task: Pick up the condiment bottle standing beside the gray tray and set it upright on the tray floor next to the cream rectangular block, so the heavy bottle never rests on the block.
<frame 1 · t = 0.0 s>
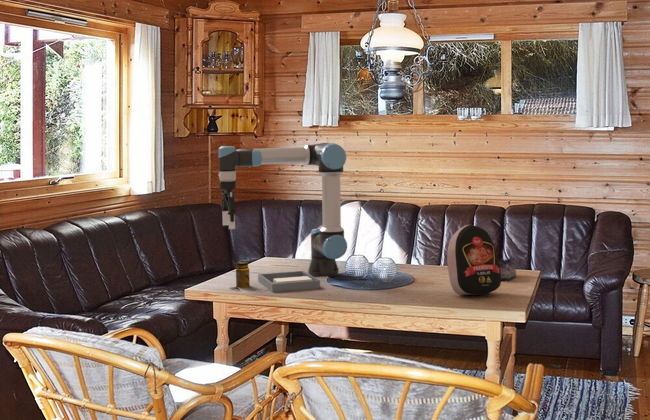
hand: (228, 227, 400), 28 cm above the table, fingers open, 13 cm apart
packaged food: (473, 294, 380), on the table
condiment: (241, 289, 401), on the table
geode: (503, 278, 417), on the table
cream rectangular block: (292, 287, 396), point 1 cm above the table, touching gray tray
gray tray: (288, 286, 402), on the table
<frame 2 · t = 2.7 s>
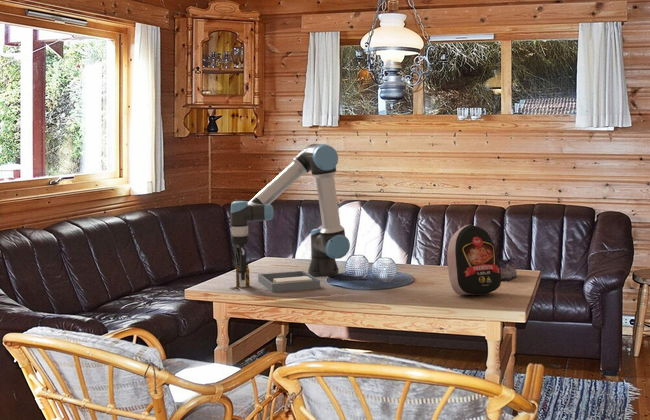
hand: (241, 285, 400), 1 cm above the table, fingers closed on condiment, 6 cm apart
condiment: (241, 289, 401), on the table, touching gripper
everything else where it was.
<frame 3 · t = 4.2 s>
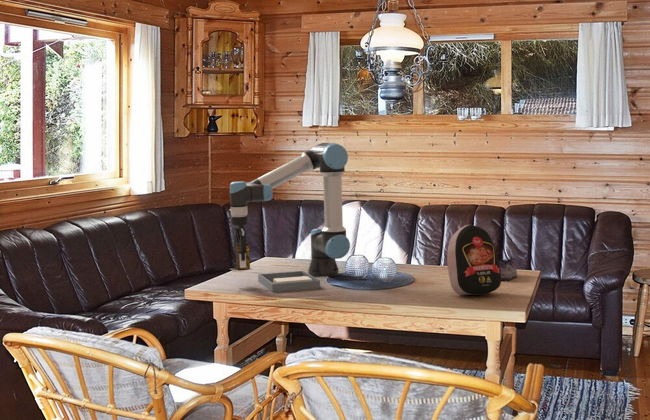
hand: (241, 266, 400), 10 cm above the table, fingers closed on condiment, 6 cm apart
condiment: (241, 269, 400), point 9 cm above the table, touching gripper
everything else where it was.
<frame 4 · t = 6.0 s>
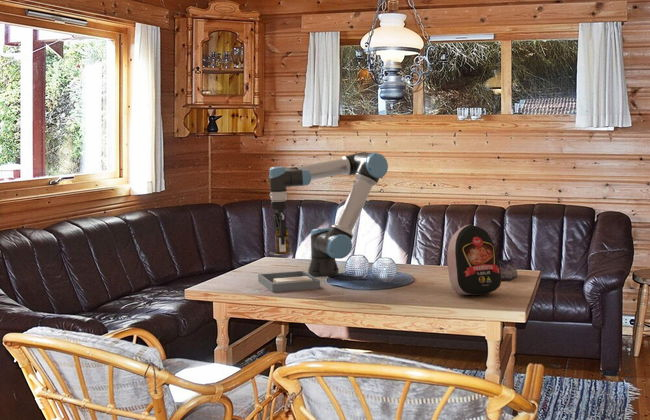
hand: (280, 250, 405), 16 cm above the table, fingers closed on condiment, 6 cm apart
condiment: (281, 253, 405), point 15 cm above the table, touching gripper
everything else where it was.
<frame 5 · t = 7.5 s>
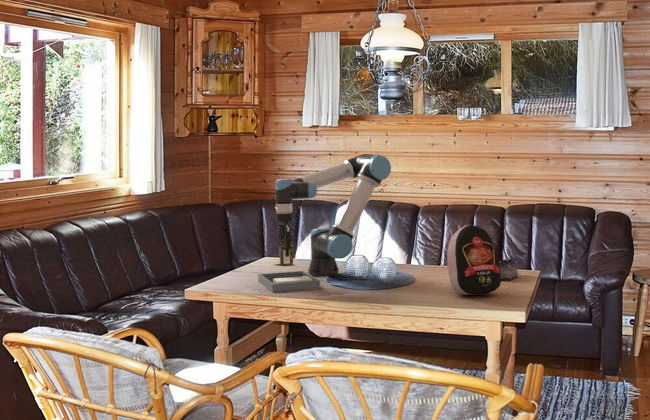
hand: (284, 262, 406), 11 cm above the table, fingers closed on condiment, 6 cm apart
condiment: (284, 265, 406), point 9 cm above the table, touching gripper
everything else where it was.
when the fingers open (5 cm above the table, at t = 8.9 s): condiment drops 2 cm, resting on gray tray.
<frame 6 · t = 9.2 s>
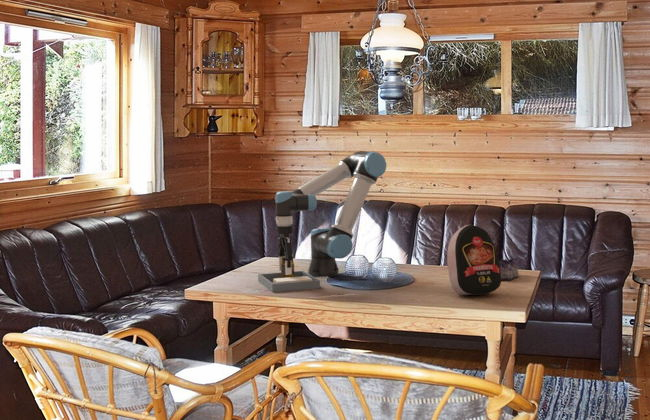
hand: (285, 272, 406), 6 cm above the table, fingers open, 10 cm apart
condiment: (286, 283, 407), point 1 cm above the table, touching gray tray
everything else where it was.
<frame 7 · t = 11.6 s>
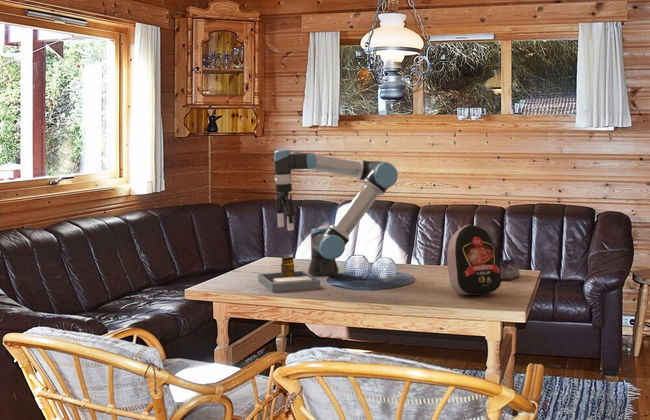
hand: (285, 228, 410), 25 cm above the table, fingers open, 13 cm apart
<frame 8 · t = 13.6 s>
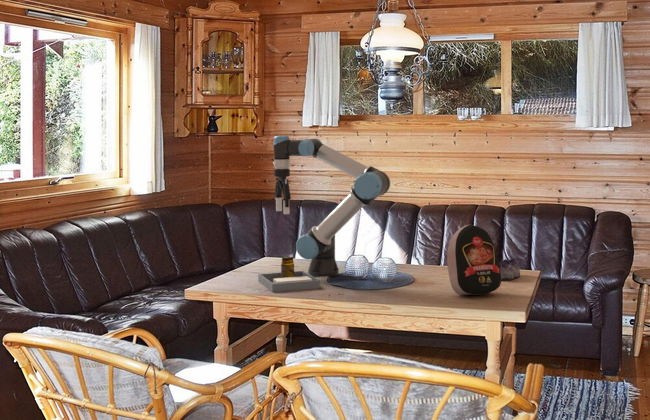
hand: (282, 212, 421), 32 cm above the table, fingers open, 13 cm apart
at the end: condiment inside the target area on the gray tray (0.3 cm from its centre), point 0.8 cm above the gray tray's base; condiment tilted 0°; cream rectangular block moved 0.0 cm from its start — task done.
